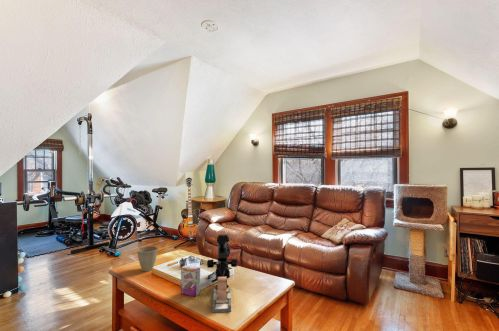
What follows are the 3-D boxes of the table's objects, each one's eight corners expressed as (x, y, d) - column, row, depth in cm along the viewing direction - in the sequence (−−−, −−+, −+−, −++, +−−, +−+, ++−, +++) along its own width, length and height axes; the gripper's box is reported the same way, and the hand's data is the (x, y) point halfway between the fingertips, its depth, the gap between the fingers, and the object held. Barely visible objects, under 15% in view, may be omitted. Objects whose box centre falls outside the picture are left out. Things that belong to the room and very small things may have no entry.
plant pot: (137, 275, 187) (137, 253, 187) (136, 267, 201) (137, 247, 201) (158, 271, 193) (158, 250, 194) (157, 264, 207) (157, 245, 207)
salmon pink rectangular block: (216, 296, 152) (216, 276, 152) (228, 296, 152) (228, 275, 152) (215, 303, 145) (215, 281, 145) (228, 302, 145) (228, 280, 145)
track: (214, 294, 158) (214, 288, 158) (230, 293, 159) (230, 287, 159) (212, 312, 139) (212, 305, 139) (231, 311, 139) (231, 304, 140)
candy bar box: (180, 294, 159) (180, 267, 159) (185, 290, 163) (185, 264, 164) (196, 297, 155) (196, 269, 155) (200, 293, 160) (200, 266, 160)
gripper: (207, 246, 160) (205, 271, 149) (237, 246, 161) (238, 270, 150) (208, 255, 167) (206, 279, 156) (236, 254, 169) (237, 278, 158)
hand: (222, 276), depth 155 cm, fingers closed
